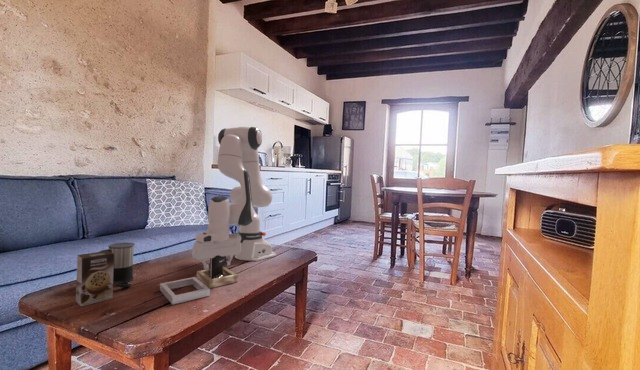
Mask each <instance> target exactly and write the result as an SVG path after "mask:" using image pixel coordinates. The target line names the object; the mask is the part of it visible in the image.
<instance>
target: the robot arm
mask: <svg viewBox="0 0 640 370" xmlns="http://www.w3.org/2000/svg"><path fill="white" fill-rule="evenodd" d="M217 140H218V144H219V148H218V153H217V168H218V171H219V172H220V173H221V174H222V175H224V176H225V177H228V178H229V179H232V180H234V181H236V182H237V183H239V184H240V185H239V186H235V187H233V188H232V189H231V191H230V192H229V197H227V196H223V195H219V196H213V197H211V199H210V200H209V204H208V211H207V220H208V224H207V230H205V231H202V232H200V233H198V234H196V235H195V236H194V237H195V240H196V241H194V243H193V247H192V251H191V252H192V253H191V254H192V255H191V256H192V259H194V260H195V261H201V263H202V264H203V270H207V269H210V264H208V263H206V262H207V260H208V259H209V260H210V258H214V257H215V256H217V255H219V256H222V257H223V256H226V257H228V258H227V259H226V264H225V265H224V266H225V267H228V266H231V262H232V260H233V258H236V259H237V260H240V261H253V262H258V261H262V260H266V259H270V258H273V257H276V256H277V254H276V252H275V251H273V248H272V247H273V246H272V245H271V243H270V242H268V241H267V240H266V239H265V238H263V237H265V236H266V235H267V232H265V231H261V229H260V228H261V218H260V215H258V213H257V212H256V211H255V208H266V207H268V206H270V205H271V203H272V200H273V194H272V191H271V190H270V189H269V188H267V186H266V185H265V183H264V181H263V179H262V178H263V177H262V176H261V170H260V155H259V150H258V148H260V146H261V145H262V142H263V135H262V132H261V130H260V129H259V127H255V126H254V127H253V126H238V127H227V128H223V129H220V131H219V133H218V136H217ZM230 201H231V202H230ZM230 225H235V226H237V225H238V226H239V229H238V232H234V233H230Z"/></svg>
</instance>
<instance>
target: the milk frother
mask: <svg viewBox="0 0 640 370" xmlns="http://www.w3.org/2000/svg"><path fill="white" fill-rule="evenodd" d="M135 245H136V244H135V243H134V242H126V241H125V242H113V243H111V244H108V245H107V247H108V248H107V249H103V250H100V251H98V252H102V251H109V252H112V253H114V270H113V286H116V287H119V288H123V289H126V288H130V287H132V283H131V281H133V280H134V253H135V251H134V250H135V249H134V248H135V247H134V246H135Z"/></svg>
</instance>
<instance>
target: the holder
mask: <svg viewBox="0 0 640 370" xmlns="http://www.w3.org/2000/svg"><path fill="white" fill-rule="evenodd" d="M188 286H193V287H194V288H195V289H196V290H193V291H188V292H184V293H183V292H182V293H179V294H175V292H174V291H172V289H173V290H174V289H178V288H183V287H188ZM159 291H160V292H161V293H162V294H163V296H164V297H165V298H166V299H167V300H168V302H169V303H170V304H171V305H172V306H173V305H177V304H180V303H181V304H182V303H185V302H190V301H194V300H198V299H202V298H206V297H210V295H211V288H208V287H207V286H206V285H204V284H203V283H202V282H201V281H199V280H198V279H197V276H192V277H188V278H181V279H177V280H173V281H165V282H160V283H159Z"/></svg>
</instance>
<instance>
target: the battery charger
mask: <svg viewBox="0 0 640 370" xmlns="http://www.w3.org/2000/svg"><path fill="white" fill-rule="evenodd" d="M226 261H227V256H223V257H222V256H219V255H217V256H215V257H214V258H210V259H209V269H210V278H211V279H214V278H219V277H224V275H223V267H224V266H226V265H225V264H226Z"/></svg>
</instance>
